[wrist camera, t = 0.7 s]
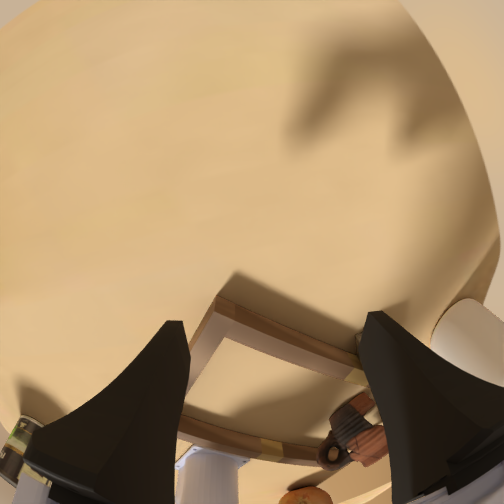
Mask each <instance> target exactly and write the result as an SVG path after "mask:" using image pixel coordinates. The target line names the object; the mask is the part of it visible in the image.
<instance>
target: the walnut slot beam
mask: <svg viewBox="0 0 504 504" xmlns="http://www.w3.org/2000/svg"><path fill="white" fill-rule="evenodd" d="M224 337H226V338H229V339H231V340H233V341H236V342H238V343H241V344H243V345H245V346H248V347H250V348H253V349H255V350H258V351H260V352H263V353H266V354H268V355H271V356H273V357H276V358H279V359H281V360H284V361H287V362H290V363H292V364H295V365H298V366H301V367H304V368H307V369H310V370H313V371H316V372H319V373H322V374H325V375H328V376H331V377H334V378H337V379H340V380H344V381H347V382H350V383H354V384H357V385H361V386H364V387H368V388H370V386H369V383H368V381H367V378H366V376H365V373H364V370H363V367H362V364H361V363H360V361H359V359H358V357H357V355H354V354H351V353H349V352H346V351H344V350H341V349H339V348H336V347H334V346H331V345H329V344H326V343H324V342H321V341H319V340H316V339H314V338H311V337H309V336H307V335H304V334H302V333H300V332H297V331H295V330H292V329H290V328H288V327H285V326H283V325H281V324H279V323H276V322H274V321H272V320H269V319H267V318H265V317H263V316H261V315H258V314H256V313H254V312H252V311H250V310H247V309H245V308H243V307H241V306H239V305H237V304H234V303H232V302H230V301H228V300H226V299H224V298H222V297H220V296H217V295H216V297H215V298H214V300H213V302H212V304H211V305H210V307H209V309H208V311H207V312H206V314H205V316H204V318H203V320H202V321H201V323H200V325H199V327H198V328H197V330H196V332H195V334H194V335H193V337H192V339H191V341H190V342H189V344H188V347H189V351H190V355H191V363H190V373H189V381H188V386H187V390H186V394H187V393H188V391H189V390H190V388H191V387H192V385H193V384H194V382H195V381H196V379H197V378H198V376H199V375H200V373H201V372H202V370H203V369H204V367H205V366H206V364H207V363H208V361H209V360H210V358H211V357H212V355H213V354H214V352H215V351H216V349H217V347H218V346H219V344H220V343H221V341H222V340H223V338H224ZM185 396H186V395H185ZM177 438H178V439H181V440H184V441H187V442H190V443H193V444H197V445H200V446H203V447H207V448H211V449H214V450H218V451H222V452H226V453H230V454H235V455H239V456H244V457H249V458H254V459H259V460H265V461H271V462H277V463H285V464H293V465H302V466H313V467H322V466H320V465H319V464H317V460H316V455H317V451H318V448H315V447H308V446H301V445H295V444H289V443H283V442H278V441H273V440H268V439H263V438H259V437H254V436H250V435H246V434H242V433H238V432H235V431H231V430H227V429H224V428H220V427H217V426H214V425H211V424H207V423H204V422H201V421H198V420H195V419H192V418H190V417H187V416H184V415H181V417H180V422H179V426H178V433H177ZM338 452H339V450H333V449H330V451H329V455H328V458H329V459H330V460H331V461H334V460H335V459H336V458H337V456H338ZM348 464H350V462H349V463H348ZM348 464H346V465H345V466H347V465H348ZM345 466H343V467H341V468H344V467H345Z"/></svg>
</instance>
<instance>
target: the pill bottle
mask: <svg viewBox="0 0 504 504" xmlns="http://www.w3.org/2000/svg"><path fill="white" fill-rule="evenodd" d="M430 347H431V350H432V351H434V352H435V353H436V354H438V355H439V356H441V357H442V358H444V359H445V360H447V361H448V362H450V363H452V364H453V365H455V366H457V367H458V368H460V369H462V370H464V371H466V372H468V373H470V374H472V375H474V376H476V377H478V378H480V379H483V380H485V381H487V382H490V383H493V384H496V385H498V386H502V387H504V322H503V321H502V320H500V319H499V318H498V317H497V316H496V315H494V314H493V313H492V312H491V311H489V310H488V309H486V308H485V307H484V306H483V305H482V304H480V303H479V302H478V301H476V300H474V299H471V298H466V299H462V300H460V301H458V302H457V303H455V304H454V305H453V306H452V307H450V308H449V309H448V310H447V311H446V313H445V314H444V315H443V316H442V318H441V319H440V320H439V322H438V324H437V325H436V327H435V329H434V332H433V334H432V337H431V342H430Z"/></svg>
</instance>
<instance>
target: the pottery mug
mask: <svg viewBox="0 0 504 504" xmlns="http://www.w3.org/2000/svg"><path fill="white" fill-rule="evenodd" d="M374 405H375V402H374V401H373V400H372V399H370V398H369V396H368V395H367V394H366V393H365V392H363V393H361V394H360V395H358V396H357V397H355V398H354V399H353V400H352V401H350V402H349V403H348V404H346V405H345V406H344V407H342V408H340V409H339V410H338V411H337V412H335V413H334V414H333V415H332V416H331V417H330V419H329V421H330V424H331V428H332V430H330V431H329V434H328V436H327V438H326V439H325V440H324V441H323V443H322V444H321V445H320V446H319V448H318V451H317V455H316V460H317V464H319V465H320V466H322V468H323V469H325V470H328V471H333V470H337V469H340V468H341V467H343V466H345V465H346V464H348V463H349V462H352V461H357V462H358V461H360V462H361V463H362V464H363V466H364V467H368V466H370V465H372V464H374V463H375V462H377V461H378V460H380V459H381V458H382V457H384V456H386V455H387V454H388V453H389V452H388V446H387V440H386V435H385V430H384V426H382V425H376V426H373V425H372V424H371V423H369V422H368V421H367V420H366V419H365V418H364V417H363V416H364V415H365V413H366V412H367V411H368V410H370V409H371V408H372V407H373V406H374ZM331 447H336V448H337V449H338V450H339V452H338V456H337V458H336V459H335V460H334V461H331V460H330V459H329V458H328V455H329V451H330V448H331ZM347 448H349V449H350V450H352V451H351V452H350V453H349V452H348V451H347Z"/></svg>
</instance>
